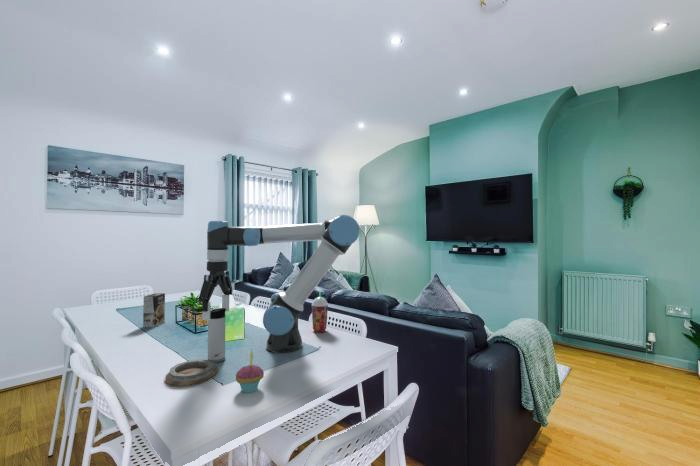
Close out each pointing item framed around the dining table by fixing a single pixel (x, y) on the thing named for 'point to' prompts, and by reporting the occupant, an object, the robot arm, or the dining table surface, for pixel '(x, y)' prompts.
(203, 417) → the dining table surface
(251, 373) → the cupcake
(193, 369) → the plate
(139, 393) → the dining table surface
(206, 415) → the dining table surface
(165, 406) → the dining table surface
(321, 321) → the smoothie
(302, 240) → the robot arm
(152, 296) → the coffee box
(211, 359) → the travel mug
